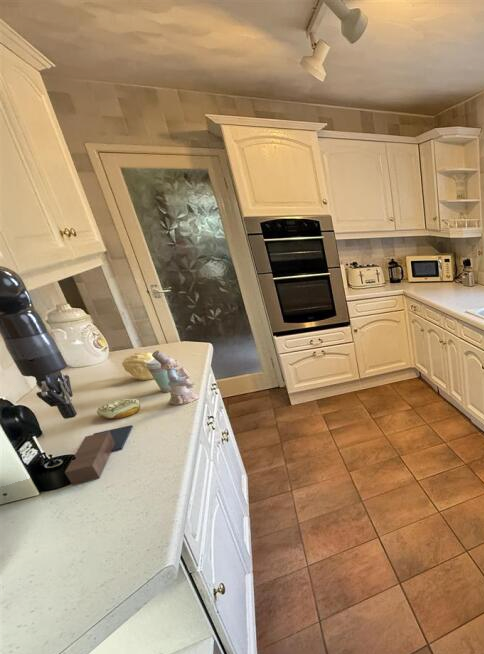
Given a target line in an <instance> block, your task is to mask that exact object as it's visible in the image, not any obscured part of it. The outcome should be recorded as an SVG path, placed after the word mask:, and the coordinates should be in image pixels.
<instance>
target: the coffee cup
mask: <svg viewBox="0 0 484 654" xmlns="http://www.w3.org/2000/svg"><path fill="white" fill-rule="evenodd" d="M173 360H175V359H174V358H173ZM146 368H147V369H149V371H150V373H151V374H152V376H153V379H154V381H155V383H156V384H157V387H158V388H159V389H160V391H161V392H162V393H170V390H172V388H171V387H170V386H169V385H168V382H169V379H168V376H167V370H164V369H162V368H161V363H159V362H158V361H157V360H156V359H151V360H149V361H147V362H146ZM176 370H178V368H176Z"/></svg>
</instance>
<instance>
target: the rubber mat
mask: <svg viewBox="0 0 484 654" xmlns="http://www.w3.org/2000/svg"><path fill="white" fill-rule="evenodd" d="M132 429H133V424H130V425H125V426H120V427H118V428H112V429H108V430H103V431H99V432H95V433H93V434H92V435H94V434H99V433H103V432H108V431H109V432H110V434H111V435H112V437H113V439H114V441H115V445H114V447H113V449H112V451H111V453H112V452H117V451H120V450H123V449H124V447H125V444H126V442H127V440H128V438H129V436H130V434H131V431H132Z"/></svg>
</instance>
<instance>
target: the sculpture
mask: <svg viewBox="0 0 484 654" xmlns="http://www.w3.org/2000/svg"><path fill="white" fill-rule="evenodd" d="M153 353H154V352H149V351H147V352H134V354H131V355H130V356H127V357H125V358H124V359H123V361H122V363H121V365H122V367H123V369H124V371H126V372H127V373H129V374H130V376H132V377H133V378H135V379H137V380H141V381H146V380H147V381H149V380H152V379H154V378H153V376H152V374H151V373H150V371H149V369H147V368H146V362H147V361H149V360H151V359H155V358H154V357H153V356H152V354H153Z"/></svg>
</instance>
